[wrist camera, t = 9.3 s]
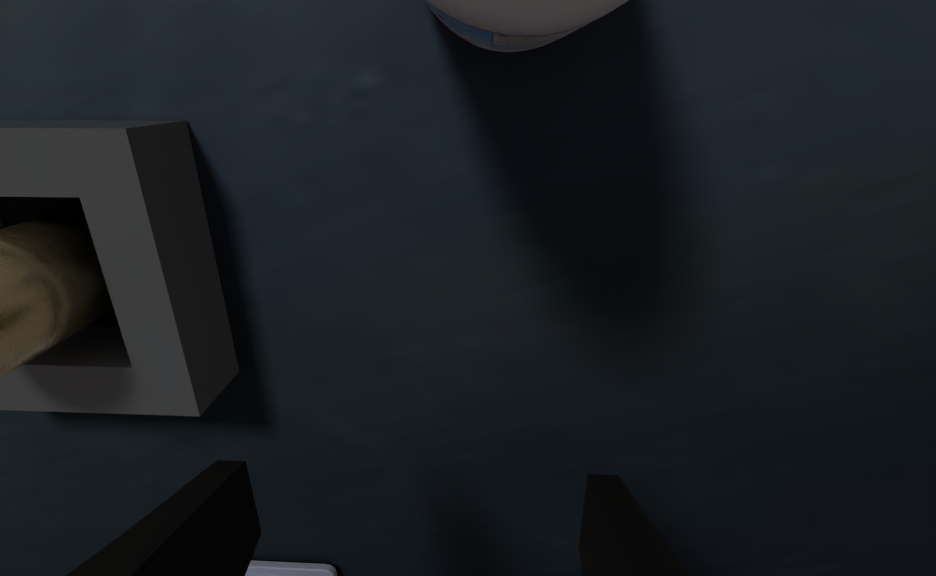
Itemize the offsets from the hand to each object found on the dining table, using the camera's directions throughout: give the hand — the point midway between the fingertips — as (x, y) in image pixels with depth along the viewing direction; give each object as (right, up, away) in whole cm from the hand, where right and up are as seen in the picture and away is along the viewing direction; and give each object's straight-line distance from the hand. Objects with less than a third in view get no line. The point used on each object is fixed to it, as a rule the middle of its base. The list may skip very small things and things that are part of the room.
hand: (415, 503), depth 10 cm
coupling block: (-13, +6, +9) cm, 17 cm away
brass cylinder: (-13, +6, +9) cm, 17 cm away
